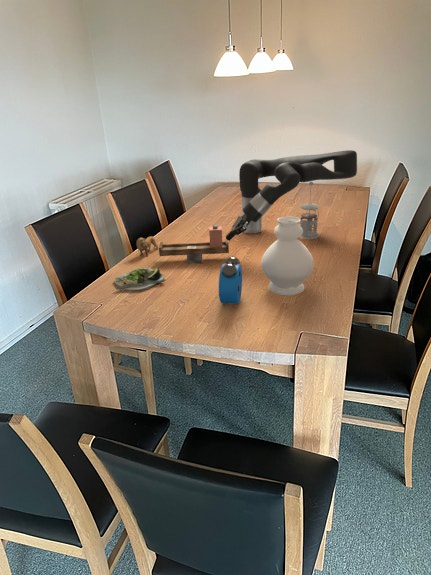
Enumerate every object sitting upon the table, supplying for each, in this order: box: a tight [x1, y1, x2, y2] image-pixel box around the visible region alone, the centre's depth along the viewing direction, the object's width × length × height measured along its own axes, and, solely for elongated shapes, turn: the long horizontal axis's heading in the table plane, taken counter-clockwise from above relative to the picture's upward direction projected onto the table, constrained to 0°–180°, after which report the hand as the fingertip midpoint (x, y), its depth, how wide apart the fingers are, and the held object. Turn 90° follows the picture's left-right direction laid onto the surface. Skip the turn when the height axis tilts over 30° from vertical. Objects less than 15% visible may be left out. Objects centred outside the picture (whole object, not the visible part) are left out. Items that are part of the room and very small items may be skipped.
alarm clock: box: [218, 255, 243, 307], centre depth 143 cm, size 13×6×15 cm, turn 169°
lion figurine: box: [136, 236, 159, 258], centre depth 188 cm, size 15×5×9 cm, turn 164°
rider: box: [208, 224, 223, 247], centre depth 176 cm, size 5×4×9 cm
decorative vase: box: [260, 215, 314, 296], centre depth 149 cm, size 18×18×25 cm
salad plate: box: [113, 267, 167, 292], centre depth 162 cm, size 19×18×5 cm
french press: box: [299, 181, 320, 240], centre depth 198 cm, size 10×12×25 cm
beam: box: [158, 238, 230, 265], centre depth 179 cm, size 28×7×8 cm, turn 91°
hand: (227, 238), depth 176 cm, fingers closed
